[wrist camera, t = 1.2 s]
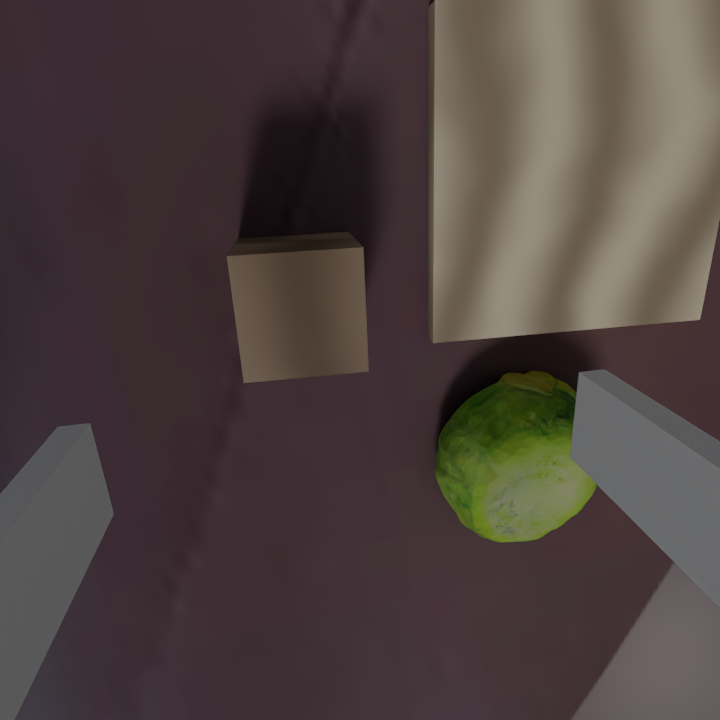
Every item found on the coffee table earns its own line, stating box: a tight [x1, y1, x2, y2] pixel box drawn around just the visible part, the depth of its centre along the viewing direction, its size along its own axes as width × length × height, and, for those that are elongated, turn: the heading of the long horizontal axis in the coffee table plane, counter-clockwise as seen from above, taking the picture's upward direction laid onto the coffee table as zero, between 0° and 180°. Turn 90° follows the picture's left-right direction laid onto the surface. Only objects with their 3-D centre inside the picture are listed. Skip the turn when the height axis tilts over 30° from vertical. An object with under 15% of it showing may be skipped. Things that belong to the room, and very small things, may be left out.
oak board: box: [428, 0, 720, 343], centre depth 29 cm, size 17×17×1 cm
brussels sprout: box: [434, 371, 598, 542], centre depth 33 cm, size 12×11×5 cm
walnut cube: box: [227, 232, 369, 383], centre depth 27 cm, size 6×6×6 cm
